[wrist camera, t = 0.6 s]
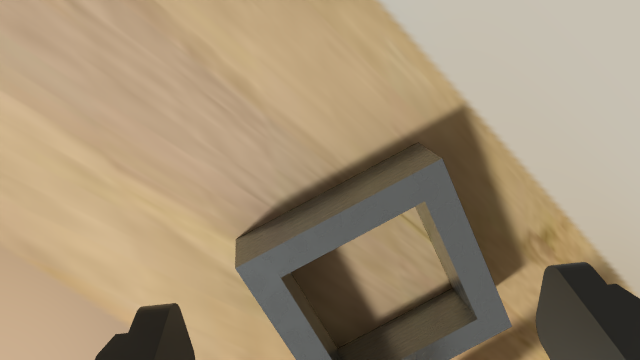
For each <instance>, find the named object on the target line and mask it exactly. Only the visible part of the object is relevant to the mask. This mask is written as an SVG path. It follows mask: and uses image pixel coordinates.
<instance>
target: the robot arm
mask: <svg viewBox="0 0 640 360" xmlns="http://www.w3.org/2000/svg"><path fill="white" fill-rule="evenodd" d="M536 328H537V333H538V336H539V339H540V342H541V344H542V346H543V348H544V349H545V351H546V353H547V355H548V356H549V358H550V360H640V299H639V298H638V297H636V296H635V295H633V294H632V293H630V292H628V291H627V290H625V289H624V288H622V287H621V286H619V285H617V284H610V285H607V284H606V282H605V281H604V280H603V279H602V278H601V277H600V275H599V274H598V273H597V272H596V271H595V270H594V269H593V267H592V266H591V265H589V264H588V263H585V262H580V263H570V264H561V265H551V266H548V267H547V268H546V269H545V271H544V276H543V281H542V286H541V292H540V297H539V302H538V308H537V313H536ZM95 360H195V355H194V350H193V347H192V344H191V341H190V338H189V334H188V331H187V328H186V325H185V322H184V319H183V316H182V313H181V310H180V307H179V306H178V304H176V303H172V304H163V305H153V306H143V307H140V308H139V309H138V311H137V313H136V315H135V317H134V320H133V322H132V325H131V327H130V330H129V332H128V333H124V334H116V335H115V336H114V337H113V338H112V339H111V340H110V341H109V342H108V343H107V345H106V346H105V347H104V348H103V349H102V350H101V351H100V352H99V353H98V355H97V356H96V358H95Z"/></svg>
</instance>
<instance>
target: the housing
mask: <svg viewBox="0 0 640 360" xmlns="http://www.w3.org/2000/svg"><path fill="white" fill-rule="evenodd" d="M413 207H416V209H417V212H418V214H419V216H420V218H421V220H422V222H423V225H424V227H425V229H426V231H427V233H428V235H429V238H430V240H431V242H432V244H433V246H434V249H435V251H436V253H437V255H438V257H439V259H440V262H441V264H442V266H443V268H444V270H445V272H446V275H447V277H448V279H449V281H450V283H451V286H452V289H451V290H449V291H447V292H445V293H443V294H441V295H439V296H437V297H435V298H434V299H432V300H430V301H428V302H426V303H424V304H422V305H420V306H418V307H417V308H415V309H413V310H411V311H409V312H407V313H405V314H403V315H401V316H400V317H398V318H396V319H394V320H392V321H390V322H388V323H386V324H384V325H382V326H381V327H379V328H377V329H375V330H373V331H371V332H369V333H367V334H365V335H364V336H362V337H360V338H358V339H356V340H354V341H352V342H350V343H348V344H347V345H345V346H343V347H341V348H339V349H337V347H336V346H335V344H334V342H333V341H332V339H331V337H330V336H329V334H328V333H327V331H326V329H325V328H324V326H323V324H322V323H321V321H320V319H319V318H318V316H317V315H316V313H315V311H314V310H313V308H312V306H311V305H310V303H309V302H308V300H307V298H306V297H305V295H304V293H303V292H302V290H301V289H300V287H299V285H298V284H297V282H296V280H295V279H294V277H293V275H292V274H291V272H292V271H294V270H296V269H298V268H300V267H302V266H304V265H306V264H307V263H309V262H311V261H313V260H315V259H317V258H319V257H321V256H323V255H324V254H326V253H328V252H330V251H332V250H334V249H336V248H338V247H339V246H341V245H343V244H345V243H347V242H349V241H351V240H353V239H355V238H356V237H358V236H360V235H362V234H364V233H366V232H368V231H370V230H372V229H373V228H375V227H377V226H379V225H381V224H383V223H385V222H387V221H388V220H390V219H392V218H394V217H396V216H398V215H400V214H402V213H404V212H405V211H407V210H409V209H411V208H413ZM235 269H236V270H237V272H238V273H239V275H240V276H241V278H242V279H243V281H244V282H245V284H246V285H247V287H248V288H249V290H250V291H251V293H252V294H253V296H254V297H255V299H256V300H257V302H258V303H259V305H260V306H261V308H262V309H263V311H264V312H265V314H266V315H267V317H268V318H269V320H270V321H271V323H272V324H273V326H274V327H275V329H276V330H277V332H278V333H279V335H280V336H281V338H282V339H283V341H284V342H285V344H286V345H287V347H288V348H289V350H290V351H291V353H292V354H293V356H294V357H295V359H296V360H449V359H451V358H453V357H455V356H457V355H459V354H461V353H463V352H465V351H466V350H468V349H470V348H472V347H474V346H476V345H478V344H480V343H482V342H483V341H485V340H487V339H489V338H491V337H493V336H495V335H497V334H499V333H501V332H502V331H504V330H506V329H508V328H510V327H512V325H511V323H510V320H509V318H508V315H507V313H506V311H505V308H504V306H503V303H502V301H501V299H500V296H499V294H498V291H497V289H496V287H495V284H494V282H493V279H492V277H491V275H490V272H489V270H488V267H487V265H486V263H485V260H484V258H483V255H482V253H481V251H480V248H479V246H478V243H477V241H476V239H475V236H474V234H473V231H472V229H471V227H470V224H469V222H468V219H467V217H466V214H465V212H464V210H463V207H462V205H461V202H460V200H459V198H458V195H457V193H456V190H455V188H454V186H453V183H452V181H451V178H450V176H449V174H448V171H447V169H446V166H445V164H444V162H443V159H442V158H441V157H439V156H438V155H436V154H435V153H433V152H432V151H430V150H429V149H427V148H426V147H424V146H423V145H421V144H420V143H416V144H415V145H413V146H411V147H409V148H407V149H405V150H403V151H401V152H399V153H398V154H396V155H394V156H392V157H390V158H388V159H386V160H384V161H383V162H381V163H379V164H377V165H375V166H373V167H371V168H369V169H368V170H366V171H364V172H362V173H360V174H358V175H356V176H354V177H352V178H351V179H349V180H347V181H345V182H343V183H341V184H339V185H337V186H336V187H334V188H332V189H330V190H328V191H326V192H324V193H322V194H320V195H319V196H317V197H315V198H313V199H311V200H309V201H307V202H305V203H304V204H302V205H300V206H298V207H296V208H294V209H292V210H290V211H289V212H287V213H285V214H283V215H281V216H279V217H277V218H275V219H273V220H272V221H270V222H268V223H266V224H264V225H262V226H260V227H258V228H257V229H255V230H253V231H251V232H249V233H247V234H245V235H243V236H241V237H240V238H238V239H236V257H235Z"/></svg>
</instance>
